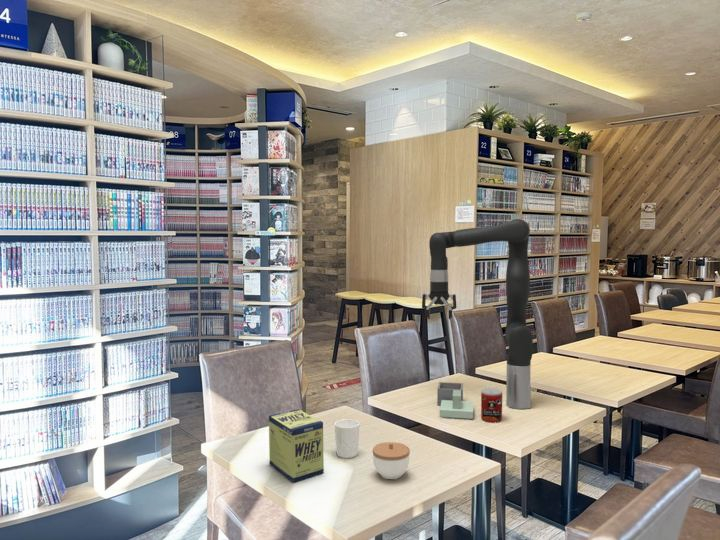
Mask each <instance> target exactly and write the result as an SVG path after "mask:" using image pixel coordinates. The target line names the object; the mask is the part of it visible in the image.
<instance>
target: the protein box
mask: <svg viewBox="0 0 720 540" xmlns="http://www.w3.org/2000/svg"><path fill="white" fill-rule="evenodd" d="M268 438H269V439H268V446H269V447H268V448H269V449H268V450H269V453H268V454H269V465H270V466H271V467H272V468H273V469H275V470H276V471H278V473H279V474H281V475H282V476H283V477H285V478H287V479H288V480H289V481H290V482H291V483H292V484H294V483H297V482H301V481H303V480H306V478H307V479H309V478H312V477H316V475H317V476H320V475H323V474H324V469H325V466H324V461H325V459H324V422H323V421H322V420H319V418H316V417H314V416H312V415H310V414H308V413H307V412H304V411H303V410H301V409H299V408H297V409H293V410H287V411H285V412H283V411H282V412H279V413H275V414H274V413H273V414H270V415H268ZM322 473H323V474H322ZM319 474H320V475H319Z"/></svg>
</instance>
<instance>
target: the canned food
mask: <svg viewBox="0 0 720 540" xmlns="http://www.w3.org/2000/svg"><path fill="white" fill-rule="evenodd" d="M480 393H481V394H480V397H481V398H480V401H481V402H480V408H481V409H480V410H481V411H480V417H481V420H482V421H484V422H486V423H490V422H491V423H495V422H496V423H499V422H501V421H502V419H503V391H502V390H501V389H500V388H497V387H486V388H485V387H484V388H482V389H481V392H480Z"/></svg>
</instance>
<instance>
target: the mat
mask: <svg viewBox="0 0 720 540" xmlns="http://www.w3.org/2000/svg"><path fill="white" fill-rule="evenodd" d="M452 418H453V417H442V418H441V419H452ZM467 419H468V421H473V419H469V418H454V420H467Z"/></svg>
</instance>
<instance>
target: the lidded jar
mask: <svg viewBox="0 0 720 540" xmlns="http://www.w3.org/2000/svg"><path fill="white" fill-rule="evenodd" d="M372 459H373V465H374V468H375V470H376V473H378V474H379V475H380V476H382V477H381V478H382V479H385V478H386V479H385V480H388V479H395V480H399V479H400V478H402V476H403V474H405V473H406V472H407V469H408V467H409V463H410V448H409V446H407V445H406V444H404V443H401V442H395V441H391V442H390V441H388V442H387V441H386V442H380V443H377V444H376V445H374V446H373V447H372ZM398 478H399V479H398Z"/></svg>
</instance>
